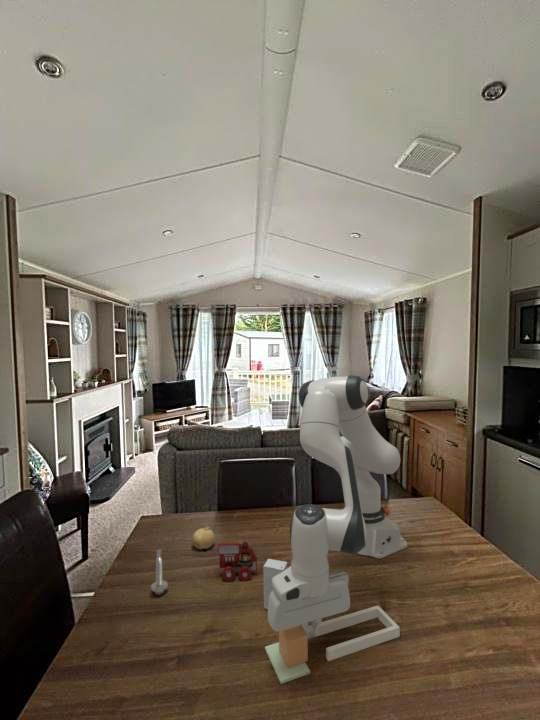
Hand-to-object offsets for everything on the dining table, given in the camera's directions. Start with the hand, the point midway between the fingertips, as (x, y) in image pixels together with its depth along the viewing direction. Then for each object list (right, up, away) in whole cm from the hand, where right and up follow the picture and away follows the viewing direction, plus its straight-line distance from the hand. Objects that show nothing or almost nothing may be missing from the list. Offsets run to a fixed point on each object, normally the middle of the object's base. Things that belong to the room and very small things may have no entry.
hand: (310, 636), depth 88 cm
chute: (+12, -4, +5) cm, 13 cm away
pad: (-4, -4, -1) cm, 6 cm away
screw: (-42, -4, +23) cm, 48 cm away
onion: (-34, -3, +48) cm, 59 cm away
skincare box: (-8, -4, +17) cm, 19 cm away
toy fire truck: (-20, -4, +31) cm, 37 cm away
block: (-4, -4, -1) cm, 6 cm away
